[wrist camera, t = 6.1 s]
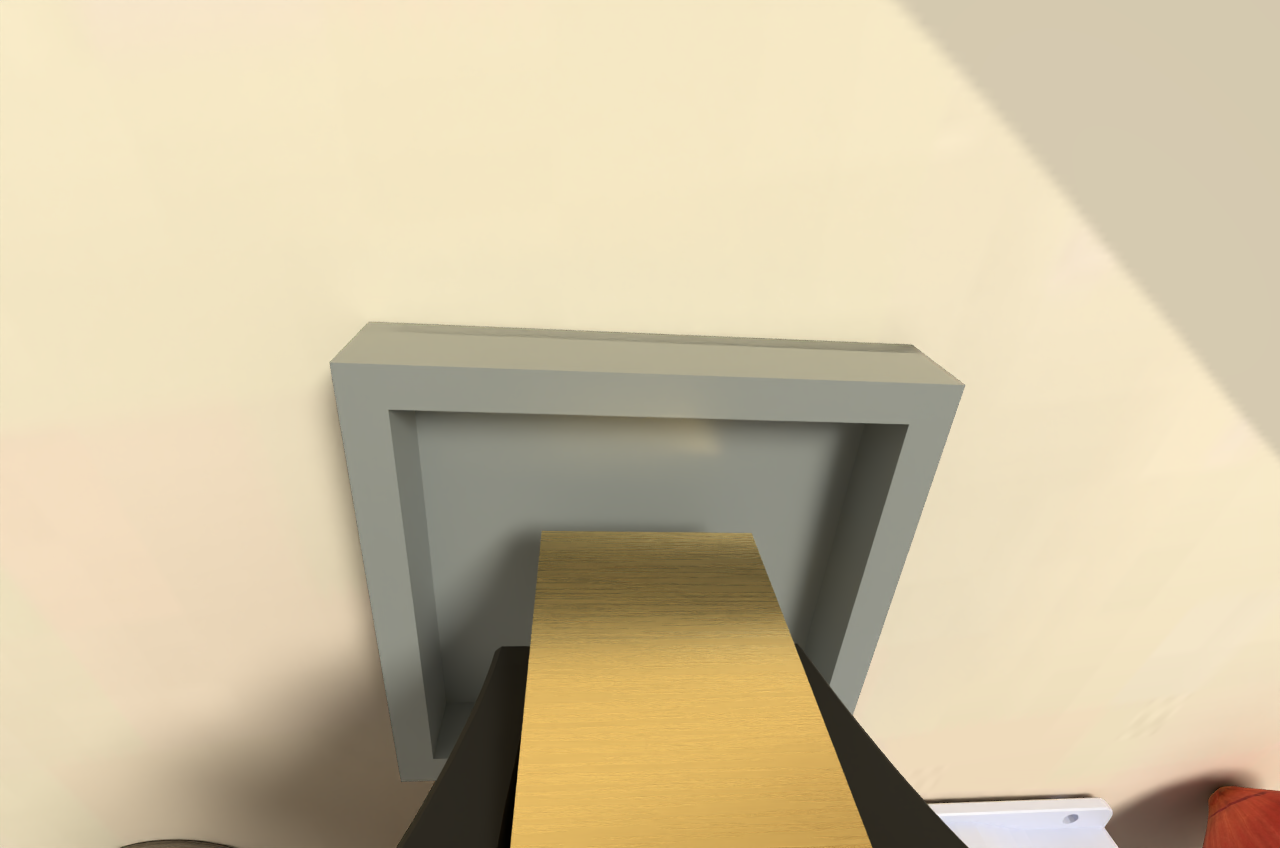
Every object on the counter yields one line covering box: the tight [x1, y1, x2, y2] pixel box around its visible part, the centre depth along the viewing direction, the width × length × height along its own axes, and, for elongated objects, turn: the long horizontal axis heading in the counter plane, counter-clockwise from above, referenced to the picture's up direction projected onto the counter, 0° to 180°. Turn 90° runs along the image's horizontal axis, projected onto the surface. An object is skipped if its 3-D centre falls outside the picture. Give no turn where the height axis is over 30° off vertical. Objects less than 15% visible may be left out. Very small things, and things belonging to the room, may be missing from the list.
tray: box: [330, 322, 965, 782], centre depth 14 cm, size 11×11×2 cm
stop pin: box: [510, 531, 872, 848], centre depth 10 cm, size 4×4×6 cm
